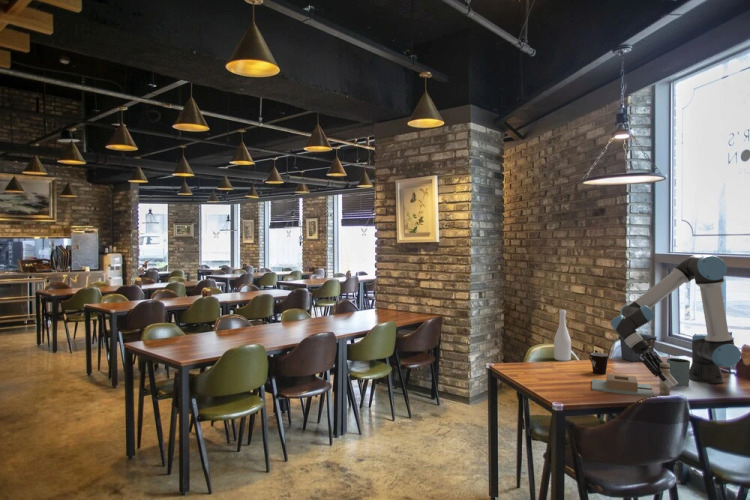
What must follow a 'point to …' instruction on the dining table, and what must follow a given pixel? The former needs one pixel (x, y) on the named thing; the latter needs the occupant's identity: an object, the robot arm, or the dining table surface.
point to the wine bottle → (562, 340)
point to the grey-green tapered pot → (679, 370)
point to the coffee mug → (599, 362)
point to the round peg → (666, 370)
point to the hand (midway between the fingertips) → (673, 385)
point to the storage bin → (629, 354)
